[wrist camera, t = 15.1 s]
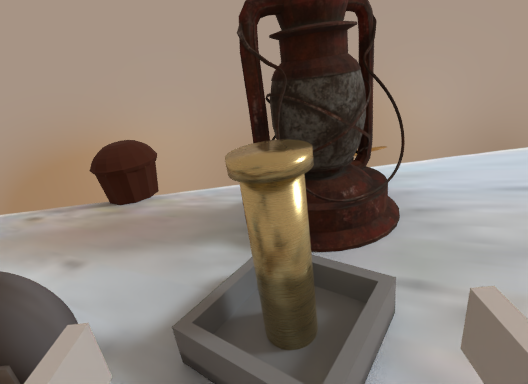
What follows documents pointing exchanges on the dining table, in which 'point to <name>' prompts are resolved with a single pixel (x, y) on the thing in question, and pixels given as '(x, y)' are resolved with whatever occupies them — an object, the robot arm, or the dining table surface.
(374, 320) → the tray
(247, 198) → the lock pin
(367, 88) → the lantern
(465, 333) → the robot arm
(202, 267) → the dining table surface
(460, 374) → the dining table surface
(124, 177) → the muffin
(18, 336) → the board
